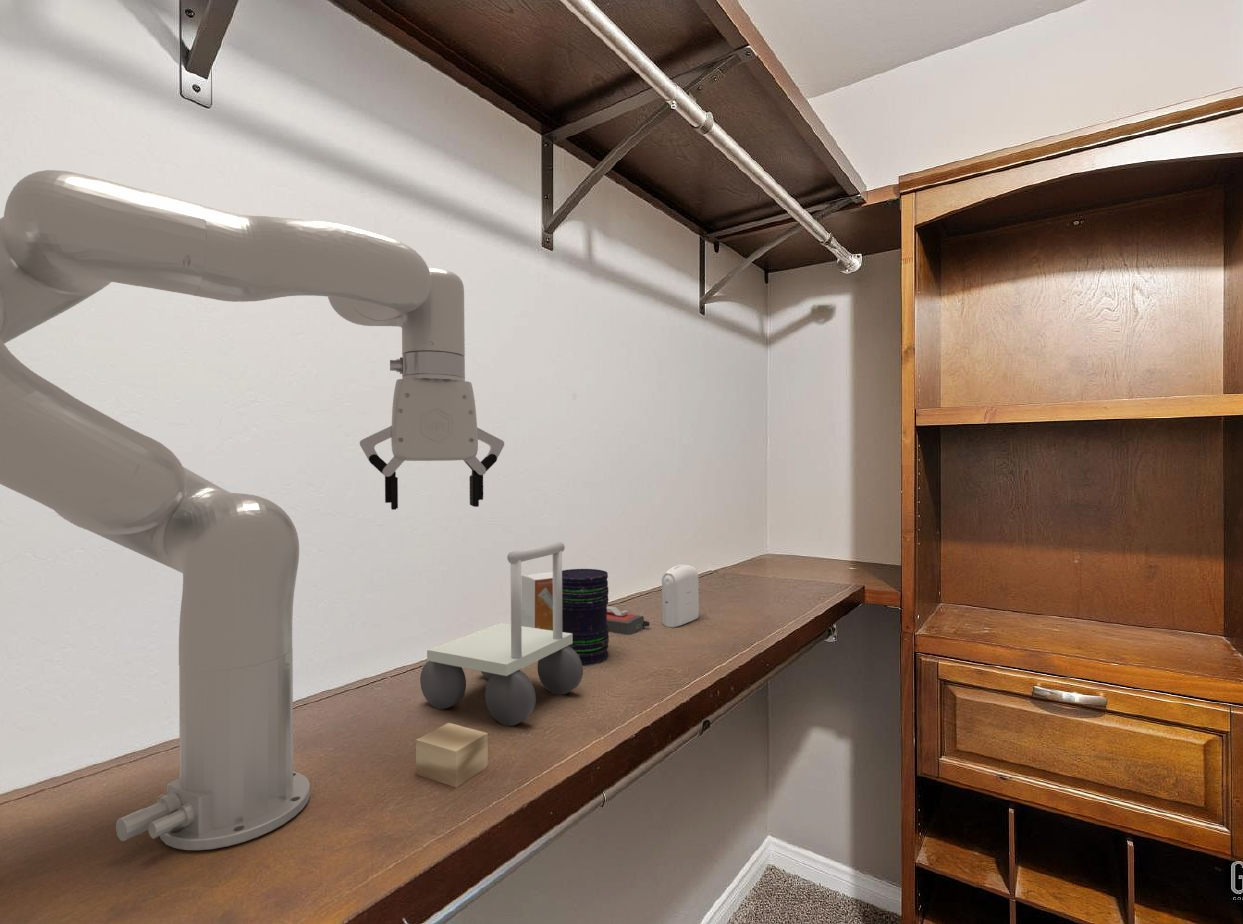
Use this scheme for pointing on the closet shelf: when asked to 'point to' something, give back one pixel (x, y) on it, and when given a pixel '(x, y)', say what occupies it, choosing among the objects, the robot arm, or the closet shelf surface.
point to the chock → (451, 754)
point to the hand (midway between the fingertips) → (435, 507)
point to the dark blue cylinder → (586, 613)
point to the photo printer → (680, 595)
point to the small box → (537, 601)
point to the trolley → (507, 654)
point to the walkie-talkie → (624, 622)
